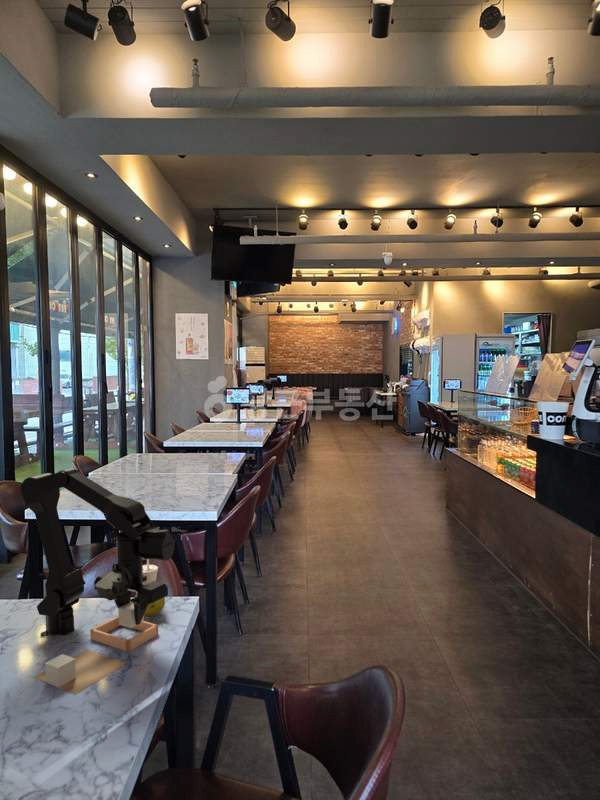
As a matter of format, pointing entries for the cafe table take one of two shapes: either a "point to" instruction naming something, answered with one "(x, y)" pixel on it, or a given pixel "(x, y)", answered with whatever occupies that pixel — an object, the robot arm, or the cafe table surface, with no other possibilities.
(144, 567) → the smoothie
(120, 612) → the cream cube
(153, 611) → the lemon
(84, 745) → the cafe table surface
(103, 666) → the board
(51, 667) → the stone
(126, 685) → the cafe table surface
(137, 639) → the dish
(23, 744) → the cafe table surface
